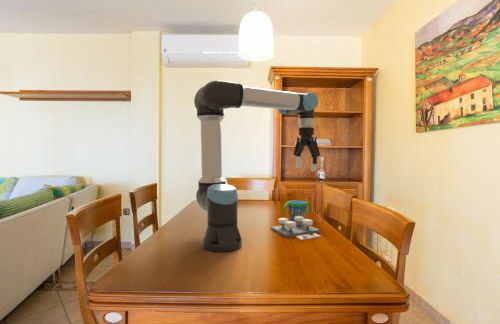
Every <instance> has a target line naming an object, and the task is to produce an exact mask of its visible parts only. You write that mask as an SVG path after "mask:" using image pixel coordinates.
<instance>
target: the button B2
mask: <svg viewBox="0 0 500 324" xmlns="http://www.w3.org/2000/svg"><path fill="white" fill-rule="evenodd" d="M303 219H304V217H302V216H295V222H296V223H297V224H298V225H301V223H302V220H303Z"/></svg>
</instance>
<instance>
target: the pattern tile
mask: <svg viewBox="0 0 500 324" xmlns="http://www.w3.org/2000/svg"><path fill="white" fill-rule="evenodd" d="M321 237H322V236H321V235H319V234H318V233H312V234H306V235H299V236H295V238H297V239H299V241H300V240H301V241H304V240H311V239H319V238H321Z"/></svg>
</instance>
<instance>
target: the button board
mask: <svg viewBox="0 0 500 324" xmlns="http://www.w3.org/2000/svg"><path fill="white" fill-rule="evenodd" d="M271 230H272V231H273V232H275V233H276V234H279V235H281V236H282V237H285V238H292V237H296V236H300V235H307V234H313V233H315V234H318V233H320V232H321V230H320V229H319V228H317V227H314V226H313V225H311V226H309V228H306V225H303V224H302V222H301V225H298V223H296V227H295V228H292V230H289V228H288V227H286V224H285V227H282V225H275V226H271Z"/></svg>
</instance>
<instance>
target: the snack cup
mask: <svg viewBox="0 0 500 324" xmlns="http://www.w3.org/2000/svg"><path fill="white" fill-rule="evenodd" d="M286 207H287V208H288V215H289V221H294V222H295V216H302V217H304V219H306V212H307V207H309V209H308V214H309V215H311V214H312V206H311V204H310V203H309V202H308V201H306V200H297V199H294V200H293V199H291V200H287V202H286V203H285V204H284V205H283V207H282V214H283V216H286Z"/></svg>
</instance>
